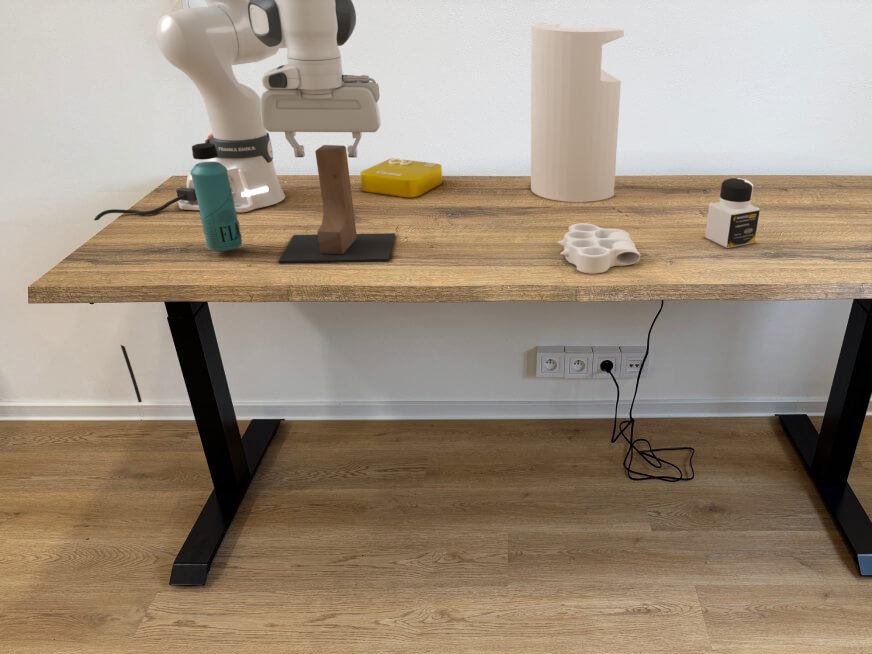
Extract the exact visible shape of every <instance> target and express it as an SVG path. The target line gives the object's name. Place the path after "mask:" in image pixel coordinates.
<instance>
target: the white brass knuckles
mask: <svg viewBox="0 0 872 654" xmlns="http://www.w3.org/2000/svg"><path fill="white" fill-rule="evenodd" d="M556 244H558V245H560V246H562V247H563V250H562V251H561V252H560V253H559V254H560V255H561V256H564V257H565V260H566V261H567V262H568V263H569V264H571V265H574V266H575V267H576V270H577V271H578V272H579V273H583V274H588V275H589V274H591V275H592V274H593V275H595V274H603V273H605V272H607V271H608V270H609V269H610V268H613V267H625V266H631V265H634V264H636V263H638V262H639V261H640V260H641V253H640V252H639V251H638V249H637V248H636V243H635V242H633V240H632V238H631V233H630V232H627V231H626V230H624V229H621V228H604V227H600V226H598V225H596V224H593V223H586V222H585V223H583V222H581V223H573V224H571V225H569V226H568V232H565V234H564V236H563V239H561V240H558V241H556Z"/></svg>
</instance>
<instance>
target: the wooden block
mask: <svg viewBox="0 0 872 654" xmlns="http://www.w3.org/2000/svg"><path fill="white" fill-rule="evenodd" d="M314 154H315V158H316V159H315V160H316V165H317V174H318V180H319V186H320V187H319V188H320V194H321V202H322V220H321V225H320V226H319V227H318V229H317V235H318V240H319V247H320V252H321V253H322V254H343V253H344V252H345V251H346V250H347V249H348V248H349V247H350V246H351V244H352V243H353V242H354V241H355V240H356V239H357V234H358V233H357V228H356V218H355V209H354V202H353V201H354V200H353V194H352V187H351V186H352V185H351V178H350V177H351V176H350V170H349V160H348V151H347V147H346V145H338V144H336V145H335V144H323V145H321V146H320V147H318V148H317V149H316V150H315V153H314Z"/></svg>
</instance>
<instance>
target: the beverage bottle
mask: <svg viewBox="0 0 872 654" xmlns="http://www.w3.org/2000/svg"><path fill="white" fill-rule="evenodd" d="M191 151H192V158H193V159H195V160H200V162H201V161H202V160H203V159H212V158H215V157H217V156H218V153H217V151H216V147H215V145H214V144H212V143H205V142H202V143H196V144H193V145H192V146H191ZM189 173H191V176H192V180H193V184H194V188H195V193H196V197H197V201H198V205H199V210H198V212H199V217H200V221H201V225H202V230H203V235H204V237H203V238H205V243H206V246H207V247H208V249H209V250H212V251H216V252H224V251H231V250H235V249H238V248H240V247H241V246H242V244H243V238H242V233H241V232H242V231H241V230H242V229H241V228H240V227H241V226H240V222H239V221H240V220H239V219H238V212H236V209H235V206H234V203H235V202H234V201H233V199H234V198H233V195H232V191H231V190H232V187H231V186H230V182H229V178H228V173H227V168H226V167H225V166H223V165H222V164H221V163H219V162H213V161H209V162H201V163H199V162H198V163H196V164H195V165H194V166H193V167H192V169H191V170H190V172H189Z"/></svg>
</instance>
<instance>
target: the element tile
mask: <svg viewBox="0 0 872 654" xmlns="http://www.w3.org/2000/svg"><path fill="white" fill-rule="evenodd" d="M442 167H443V166H442V165H441V164H440V163H435V162H427V161H418V160H410V159H403V158H400V157H399V158H397V157H396V158H393V157H392V158H389V159H386V160H383V161H381V162H379V163H378V164H375V165H373V166H370V167H368V168H366V169H364V170H362V171H360V174H359V175H360V184H361V190H362V191H363V192H365V193H371V194H378V195H384V196H385V195H386V196H391V197H399V198H406V199H407V198H408V199H412V198H413V199H414V198H418V197H420V196H422V195H424V194H426V193H427V192H429V191H431V190H433V189H435V188H436V187H438V186H440V185H442V183H443V168H442Z"/></svg>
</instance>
